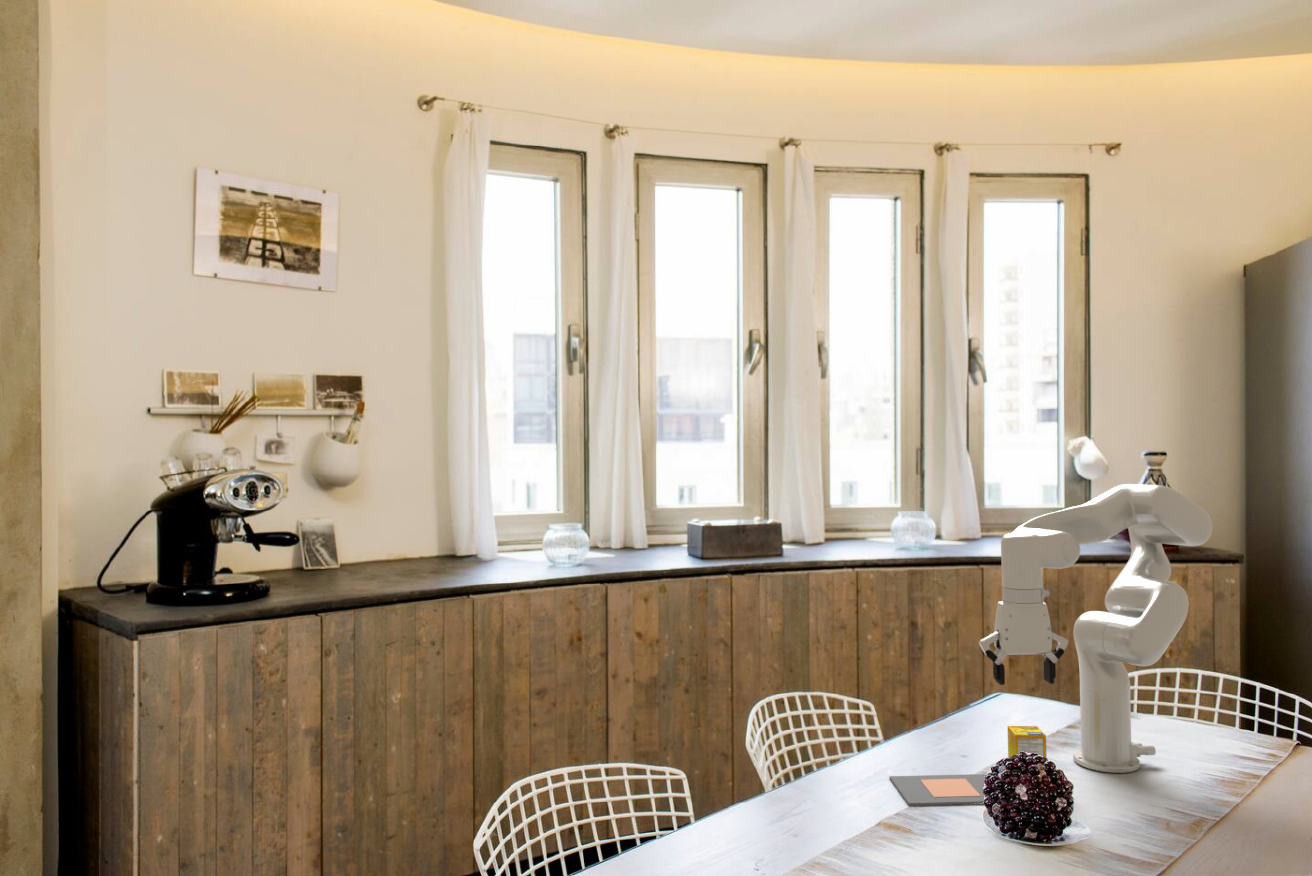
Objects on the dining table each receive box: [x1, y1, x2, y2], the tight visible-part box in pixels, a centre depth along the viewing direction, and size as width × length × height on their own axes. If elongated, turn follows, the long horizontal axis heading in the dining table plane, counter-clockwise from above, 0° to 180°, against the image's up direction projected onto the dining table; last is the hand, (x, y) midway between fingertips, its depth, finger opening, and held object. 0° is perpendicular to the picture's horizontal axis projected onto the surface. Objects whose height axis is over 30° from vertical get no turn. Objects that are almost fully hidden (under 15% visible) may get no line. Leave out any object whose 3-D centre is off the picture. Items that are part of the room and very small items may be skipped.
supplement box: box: [1007, 725, 1047, 758], centre depth 185 cm, size 6×6×11 cm
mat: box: [889, 773, 986, 807], centre depth 183 cm, size 20×14×1 cm
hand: (1024, 682), depth 185 cm, fingers open, 9 cm apart
